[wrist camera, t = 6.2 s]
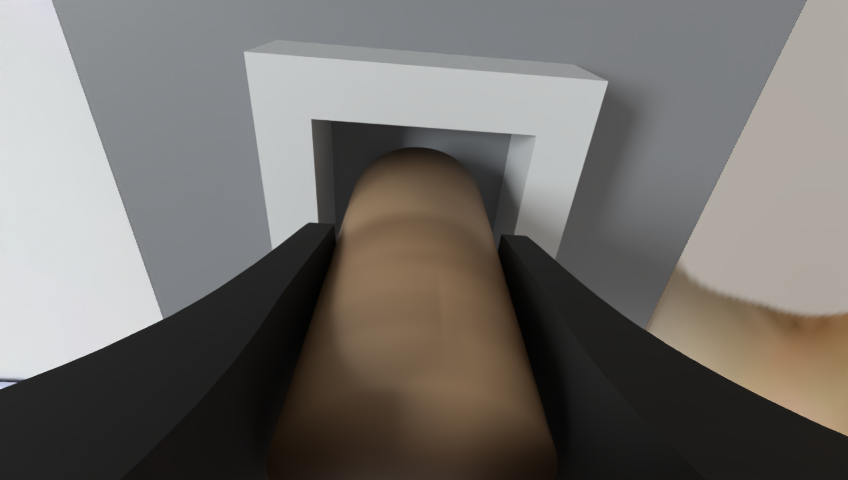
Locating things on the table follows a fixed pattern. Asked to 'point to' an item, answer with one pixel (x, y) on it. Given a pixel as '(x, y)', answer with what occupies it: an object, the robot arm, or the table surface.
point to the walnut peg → (413, 343)
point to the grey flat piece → (422, 120)
